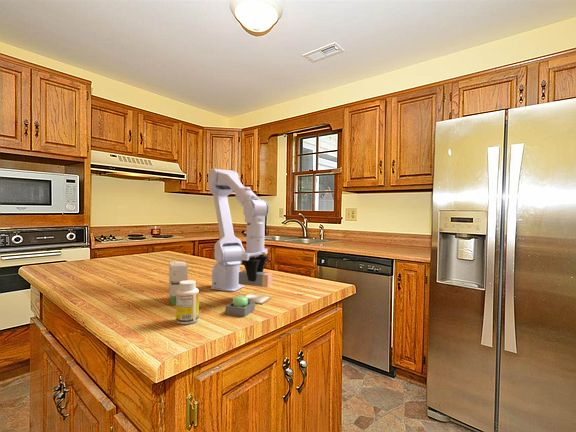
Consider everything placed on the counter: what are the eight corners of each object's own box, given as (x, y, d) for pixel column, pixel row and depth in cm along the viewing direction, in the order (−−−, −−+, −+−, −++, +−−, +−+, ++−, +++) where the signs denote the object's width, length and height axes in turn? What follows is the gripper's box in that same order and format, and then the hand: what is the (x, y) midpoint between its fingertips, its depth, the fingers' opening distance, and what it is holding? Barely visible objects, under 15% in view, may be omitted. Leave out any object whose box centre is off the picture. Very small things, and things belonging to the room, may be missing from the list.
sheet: (237, 301, 97) (237, 299, 97) (248, 295, 104) (248, 293, 104) (262, 304, 94) (262, 303, 94) (271, 298, 101) (271, 296, 101)
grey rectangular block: (238, 284, 99) (238, 272, 98) (244, 281, 102) (244, 270, 102) (267, 287, 95) (267, 275, 95) (272, 284, 98) (272, 272, 98)
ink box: (188, 303, 94) (188, 264, 93) (170, 305, 91) (171, 266, 91) (184, 296, 101) (184, 260, 101) (168, 297, 99) (168, 261, 99)
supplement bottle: (191, 315, 83) (191, 278, 83) (203, 320, 80) (203, 281, 79) (171, 321, 79) (172, 281, 79) (183, 327, 75) (183, 285, 75)
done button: (230, 308, 86) (230, 298, 86) (237, 304, 90) (237, 295, 89) (243, 310, 84) (243, 300, 84) (250, 306, 88) (250, 296, 88)
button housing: (225, 313, 85) (225, 305, 85) (236, 307, 91) (236, 299, 91) (244, 316, 83) (244, 308, 83) (254, 309, 89) (254, 302, 89)
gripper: (256, 239, 90) (256, 286, 90) (275, 236, 104) (275, 276, 104) (235, 238, 92) (235, 283, 93) (257, 235, 106) (256, 274, 106)
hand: (255, 279), depth 99 cm, fingers closed on grey rectangular block, 4 cm apart
